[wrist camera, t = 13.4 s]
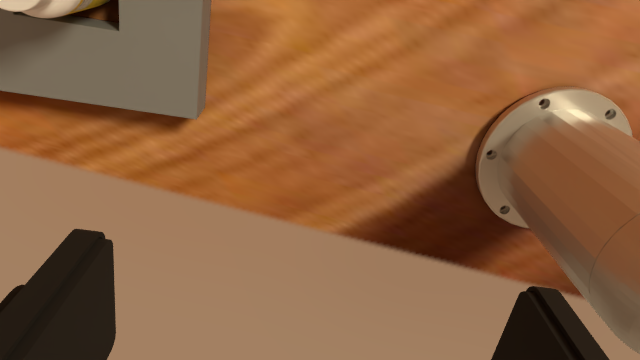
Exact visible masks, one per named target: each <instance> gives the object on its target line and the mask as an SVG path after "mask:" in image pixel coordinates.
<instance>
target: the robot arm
mask: <svg viewBox="0 0 640 360" xmlns="http://www.w3.org/2000/svg"><path fill="white" fill-rule="evenodd" d="M541 100H542V102H541V103H540V104H539V102H540V101H541ZM490 150H491V151H490ZM488 151H490V152H489V153H487V152H488ZM475 170H476V181H477V185H478V189H479V191H480V193H481V195H482V197H483V199H484V201H485V202H486V203H487V205H488V206H489V207H490V209H491V210H492V211H493V212H494V213H495V214H496V215H497V216H499V217H500V218H502V219H503V220H505V221H507V222H509V223H510V224H513V225H516V226H519V227H523V228H530V229H531V231H532V232H533V233H534V234H535V236H536V237H537V238H538V239H539V241H540V242H541V243H542V244H543V246H544V247H545V248H546V250H547V251H548V252H549V253H550V255H551V256H552V257H553V258H554V260H555V261H556V262H557V263H558V265H559V266H560V267H561V268H562V270H563V271H564V272H565V274H566V275H567V276H568V277H569V279H570V280H571V281H572V282H573V284H574V285H575V286H576V287H577V289H578V290H579V291H580V292H581V294H582V295H583V296H584V297H585V299H586V300H587V301H588V302H589V304H590V305H591V306H592V308H593V309H594V310H595V311H596V313H597V314H598V315H599V316H600V317H601V318H602V320H603V321H604V322H605V323H606V324H607V326H608V327H609V328H610V330H611V331H612V332H613V333H614V334H615V335H616V336H617V337H618V338H619V339H620V340H621V341H623V343H625V344H626V345H627V346H628V347H630V348H631V349H632V350H634V351H635V352H637V353H639V354H640V141H638V140H636V139H634V138H633V137H632V130H631V128H630V125H629V122H628V119H627V118H626V116H625V115H624V113H623V112H622V110H621V109H620V108H619V107H618V106H617V105H616V104H615V103H613V102H612V101H611V100H610V99H608V98H606V97H604V96H602V95H601V94H598V93H596V92H593V91H591V90H588V89H585V88H579V87H572V86H571V87H555V88H550V89H545V90H541V91H539V92H536V93H534V94H531V95H529V96H526V97H525V98H523V99H521V100H520V101H518V102H516V103H515V104H513V105H512V106H510V107H509V108H508V109H507V110H506V111H505V112H503V113H502V114H501V115H500V116H499V117H498V118H497V120H496V121H495V122H494V123H493V124H492V125H491V127H490V128H489V130H488V131H487V133H486V135H485V136H484V138H483V140H482V143H481V145H480V148H479V150H478V153H477V159H476V165H475ZM113 264H114V261H113V243H112V241H111V240H108V239H105V235H104V234H103V232H98V231H90V230H82V229H74V230H73V231H72V232H71V233H70V234H69V235H68V236H67V237H66V238H65V240H64V241H63V242H62V243H61V244H60V245H59V247H58V248H57V249H56V250H55V251H54V252H53V253H52V255H51V256H50V257H49V258H48V259H47V260H46V262H45V263H44V264H43V265H42V266H41V267H40V268H39V269H38V271H37V272H36V273H35V274H34V275H33V276H32V278H31V279H30V280H29V281H28V282H27V283H26V284H25V285H20V286H17V287H16V288H14V289H13V290H12V291H11V292H10V293H9V294H8V295H7V296H6V297H5V299H4V300H3V301H2V302H1V303H0V360H107V358H108V356H109V354H110V352H111V350H112V347H113V345H114V340H115V334H116V327H115V296H114V295H115V293H114V265H113ZM491 360H609V358H608V357H607V356H606V354H605V353H604V352H603V350H602V349H601V348H600V346H599V345H598V343H597V342H596V341H595V340H594V338H593V337H592V335H591V334H590V333H589V331H588V330H587V328H586V327H585V326H584V324H583V323H582V322H581V320H580V319H579V318H578V316H577V315H576V313H575V312H574V311H573V309H572V308H571V307H570V305H569V304H568V302H567V301H566V300H565V299H564V297H563V296H562V294H561V293H560V292H559V291H558V290H556V289H551V288H543V287H535V286H531V287H529V288H528V289H527V290H526V292H525V291H524V292H521V293H520V294H519V296H518V298H517V300H516V303H515V305H514V308H513V310H512V312H511V314H510V317H509V319H508V322H507V324H506V326H505V329H504V331H503V333H502V336H501V338H500V340H499V343H498V345H497V347H496V350H495V352H494V355H493V357H492V359H491Z"/></svg>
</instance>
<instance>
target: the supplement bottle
mask: <svg viewBox="0 0 640 360" xmlns="http://www.w3.org/2000/svg"><path fill="white" fill-rule="evenodd" d="M108 1H110V0H0V8H1V9H4V10H7V11H13V12H23V13H25V14H27V15H30V16H33V17H38V18H55V17H60V16H64V15H68V14H71V13H75V12H79V11H83V10H86V9H90V8H94V7H97V6H100V5H103V4H105V3H107V2H108Z"/></svg>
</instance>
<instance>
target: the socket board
mask: <svg viewBox="0 0 640 360" xmlns="http://www.w3.org/2000/svg"><path fill="white" fill-rule="evenodd" d="M210 11H211V0H119V23H116V22H110V21H104V20H98V19H91V18H85V17H79V16H73V15H64V16H60V17H55V18H38V17H33V16H30V15H27V14H25V13H23V12H13V11H7V10H4V9H1V8H0V91H7V92H14V93H20V94H27V95H34V96H41V97H48V98H55V99H61V100H68V101H75V102H82V103H89V104H95V105H102V106H109V107H116V108H123V109H130V110H136V111H143V112H150V113H157V114H164V115H170V116H177V117H184V118H191V119H197V118H198V117H199V115H200V114H201V112H202V111H203V109H204V108H205V96H206V79H207V62H208V45H209V28H210Z"/></svg>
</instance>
